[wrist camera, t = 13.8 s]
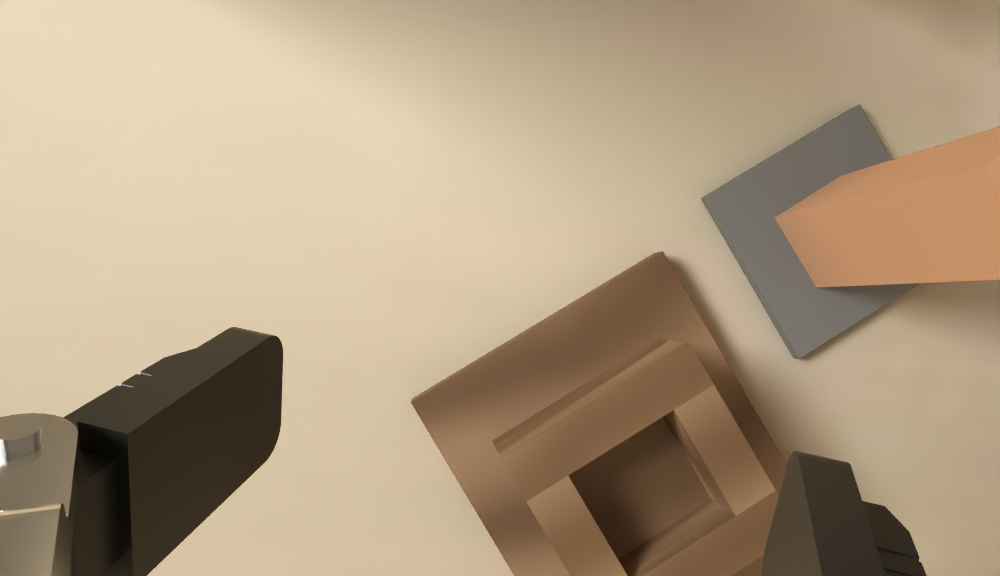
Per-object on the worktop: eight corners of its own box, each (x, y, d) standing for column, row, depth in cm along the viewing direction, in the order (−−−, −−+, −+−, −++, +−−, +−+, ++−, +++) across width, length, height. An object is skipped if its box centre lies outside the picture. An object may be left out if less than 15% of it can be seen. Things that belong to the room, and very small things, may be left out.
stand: (411, 399, 33) (409, 416, 28) (654, 253, 35) (694, 244, 29) (581, 684, 34) (610, 753, 29) (816, 531, 35) (884, 571, 30)
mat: (701, 198, 35) (706, 196, 34) (852, 107, 35) (860, 104, 35) (793, 357, 35) (799, 358, 34) (942, 264, 36) (950, 263, 35)
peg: (774, 218, 34) (984, 165, 21) (840, 175, 35) (1087, 99, 22) (816, 287, 35) (1050, 277, 22) (882, 245, 35) (1152, 209, 22)
